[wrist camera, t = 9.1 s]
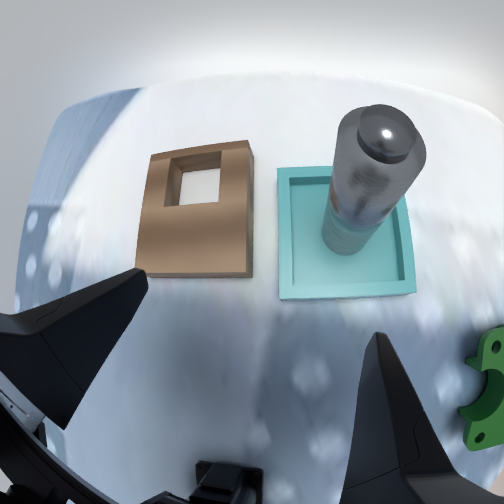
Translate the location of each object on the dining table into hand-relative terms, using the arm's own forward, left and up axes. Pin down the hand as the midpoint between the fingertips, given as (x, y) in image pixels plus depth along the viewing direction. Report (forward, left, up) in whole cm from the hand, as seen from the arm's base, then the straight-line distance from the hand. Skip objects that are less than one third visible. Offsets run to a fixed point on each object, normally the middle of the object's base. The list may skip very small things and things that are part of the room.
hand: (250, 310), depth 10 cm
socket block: (+9, +7, -14) cm, 18 cm away
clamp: (-8, -21, -14) cm, 26 cm away
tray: (+7, -6, -14) cm, 16 cm away
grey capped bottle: (+7, -6, -13) cm, 15 cm away
